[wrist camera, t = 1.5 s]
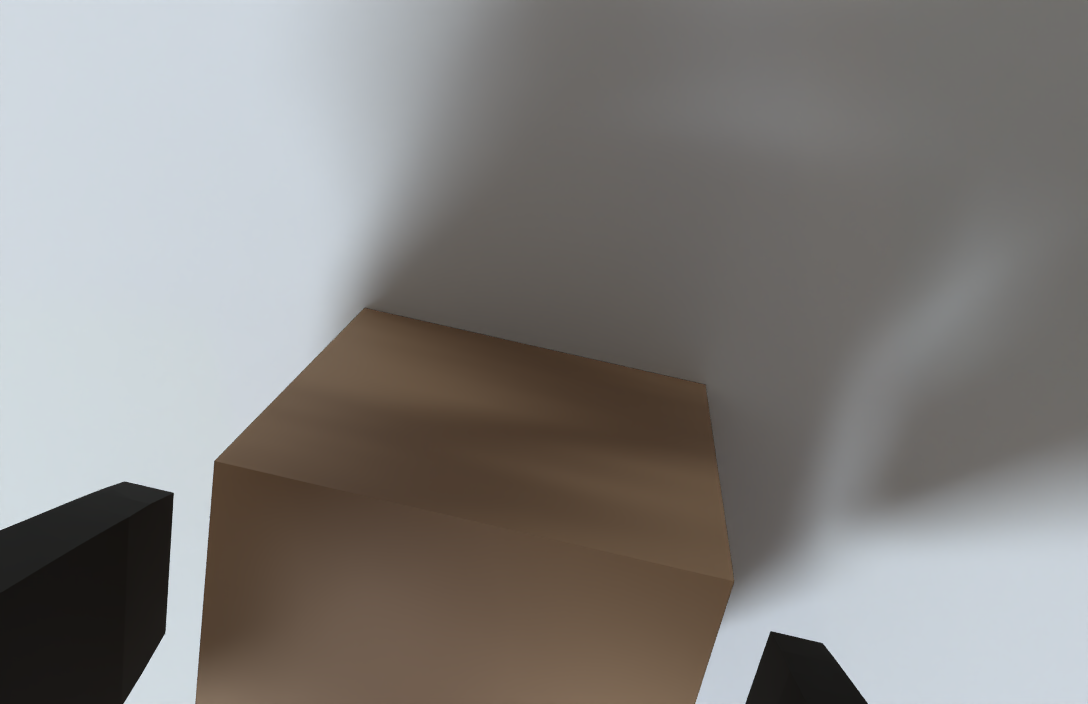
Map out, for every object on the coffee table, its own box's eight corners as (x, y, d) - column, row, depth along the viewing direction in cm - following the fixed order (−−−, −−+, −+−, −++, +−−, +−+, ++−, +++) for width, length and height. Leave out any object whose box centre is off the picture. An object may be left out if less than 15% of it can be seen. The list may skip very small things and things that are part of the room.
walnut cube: (704, 382, 13) (734, 580, 9) (626, 661, 15) (615, 952, 10) (366, 306, 13) (214, 461, 9) (327, 591, 15) (184, 846, 11)
